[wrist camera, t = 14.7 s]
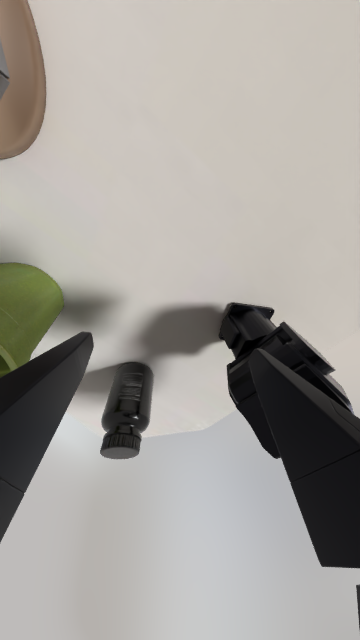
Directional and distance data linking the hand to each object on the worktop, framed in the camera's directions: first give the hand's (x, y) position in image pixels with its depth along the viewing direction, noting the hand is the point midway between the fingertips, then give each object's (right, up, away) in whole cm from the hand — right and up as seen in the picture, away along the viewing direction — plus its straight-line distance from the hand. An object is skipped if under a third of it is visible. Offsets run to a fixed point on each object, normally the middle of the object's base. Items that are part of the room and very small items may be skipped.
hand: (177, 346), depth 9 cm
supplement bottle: (-8, -9, +21) cm, 24 cm away
